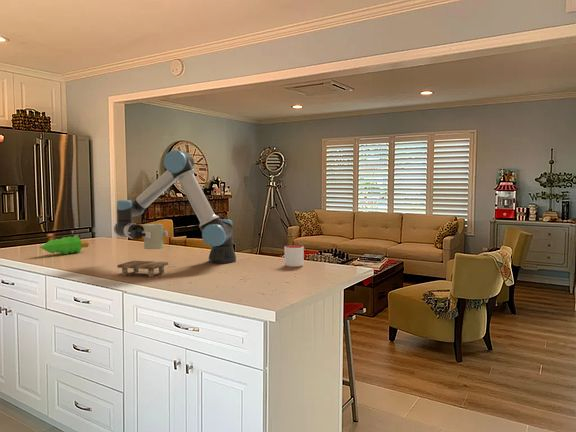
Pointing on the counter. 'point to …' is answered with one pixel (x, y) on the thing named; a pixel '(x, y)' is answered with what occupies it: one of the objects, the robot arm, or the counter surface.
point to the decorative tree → (65, 245)
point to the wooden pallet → (142, 267)
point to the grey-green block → (154, 236)
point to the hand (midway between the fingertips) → (158, 234)
